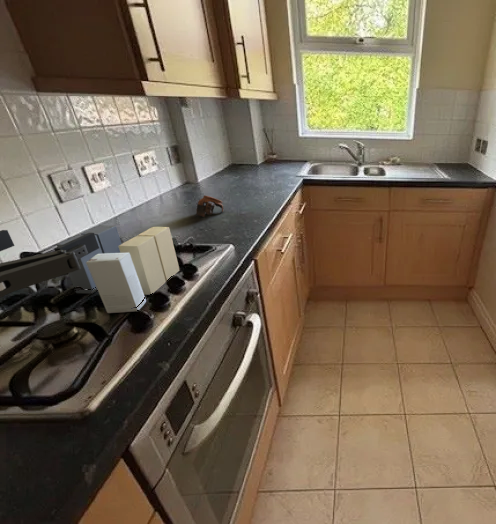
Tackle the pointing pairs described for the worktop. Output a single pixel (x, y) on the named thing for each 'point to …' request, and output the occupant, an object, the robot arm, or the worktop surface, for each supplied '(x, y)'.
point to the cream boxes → (152, 257)
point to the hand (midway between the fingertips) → (51, 239)
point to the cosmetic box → (116, 282)
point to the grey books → (107, 244)
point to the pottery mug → (207, 205)
